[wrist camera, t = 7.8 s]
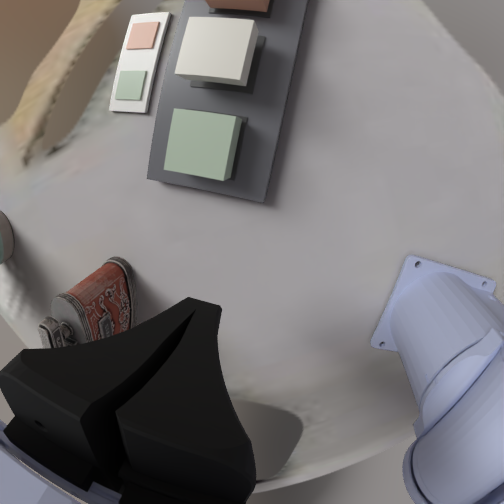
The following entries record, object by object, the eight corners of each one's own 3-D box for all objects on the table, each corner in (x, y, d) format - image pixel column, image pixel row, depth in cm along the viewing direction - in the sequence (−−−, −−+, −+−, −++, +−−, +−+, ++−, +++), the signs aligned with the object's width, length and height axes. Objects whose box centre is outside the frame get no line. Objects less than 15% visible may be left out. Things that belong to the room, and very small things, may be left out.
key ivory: (258, 31, 14) (254, 20, 12) (246, 86, 15) (239, 79, 13) (199, 27, 14) (189, 16, 12) (186, 79, 15) (174, 73, 13)
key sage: (242, 119, 16) (236, 116, 15) (230, 177, 18) (223, 180, 16) (185, 111, 17) (173, 108, 15) (175, 166, 18) (163, 169, 16)
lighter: (138, 339, 26) (83, 414, 16) (108, 329, 26) (49, 395, 17) (136, 261, 23) (56, 327, 13) (102, 252, 23) (20, 309, 14)
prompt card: (171, 13, 16) (168, 11, 15) (147, 113, 19) (143, 112, 18) (134, 16, 16) (130, 14, 15) (111, 111, 19) (107, 110, 18)
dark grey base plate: (313, -24, 13) (314, -33, 12) (265, 199, 20) (263, 203, 18) (203, -32, 14) (198, -40, 13) (154, 176, 20) (145, 179, 19)
